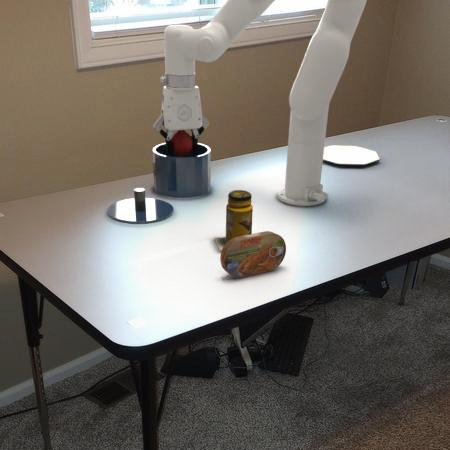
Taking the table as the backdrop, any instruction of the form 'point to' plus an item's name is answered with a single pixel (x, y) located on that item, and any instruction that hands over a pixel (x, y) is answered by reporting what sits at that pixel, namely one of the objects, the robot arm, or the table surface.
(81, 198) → the table surface
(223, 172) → the table surface
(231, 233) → the condiment
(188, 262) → the table surface
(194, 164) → the pot
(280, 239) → the tin
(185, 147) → the pomegranate
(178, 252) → the table surface
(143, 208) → the lid
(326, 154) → the plate
